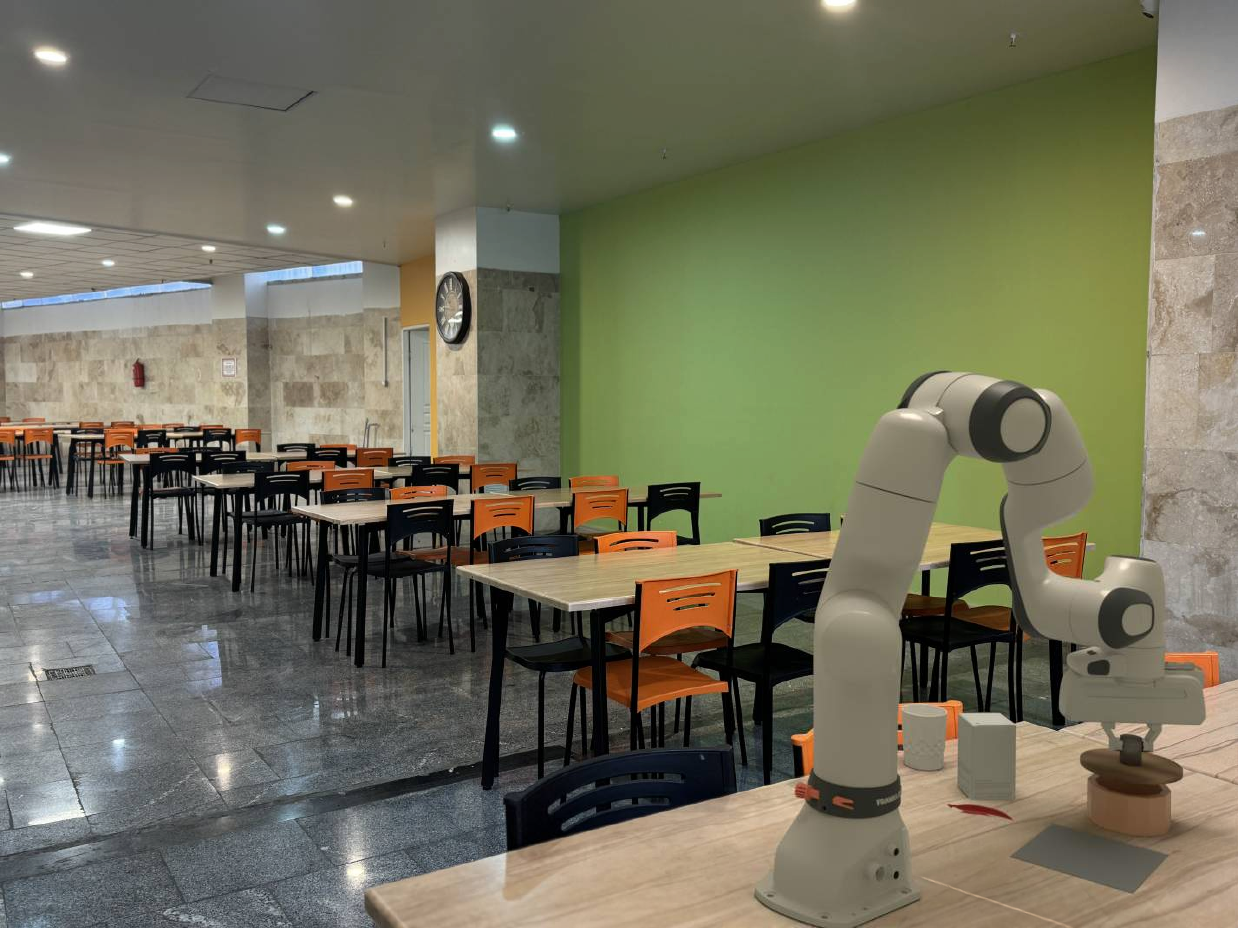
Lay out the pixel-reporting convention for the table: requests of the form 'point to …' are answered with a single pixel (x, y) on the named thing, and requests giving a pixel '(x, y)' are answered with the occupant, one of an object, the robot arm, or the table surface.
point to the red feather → (979, 810)
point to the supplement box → (986, 756)
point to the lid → (1131, 764)
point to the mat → (1091, 857)
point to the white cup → (924, 736)
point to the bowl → (1129, 806)
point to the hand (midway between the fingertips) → (1130, 750)
